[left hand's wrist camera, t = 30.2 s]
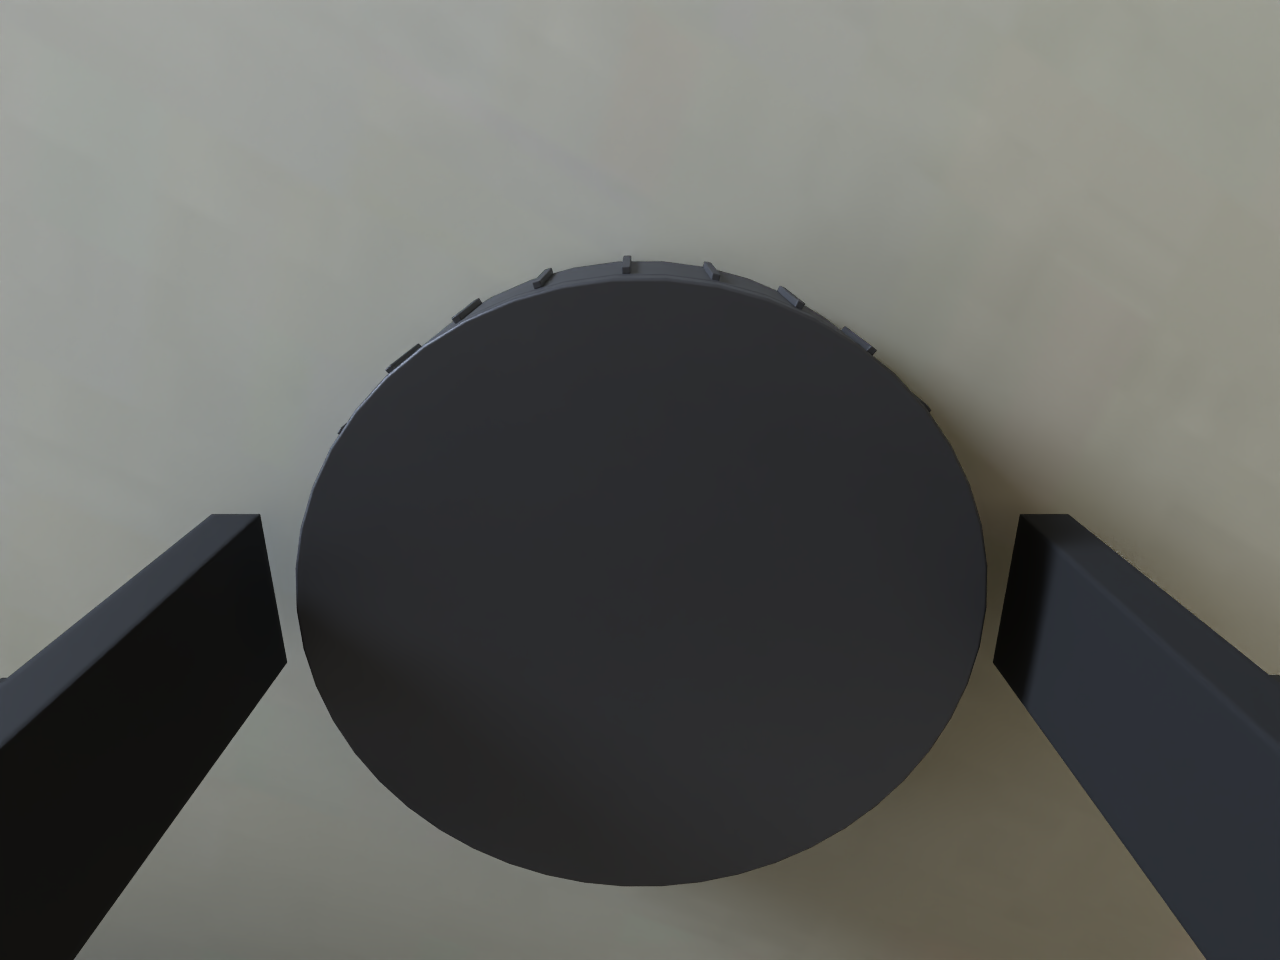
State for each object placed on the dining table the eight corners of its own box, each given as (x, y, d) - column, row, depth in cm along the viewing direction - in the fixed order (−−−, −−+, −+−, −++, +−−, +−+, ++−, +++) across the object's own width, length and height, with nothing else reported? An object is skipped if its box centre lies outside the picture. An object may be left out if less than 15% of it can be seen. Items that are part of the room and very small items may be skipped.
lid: (481, 855, 16) (459, 950, 14) (227, 383, 13) (152, 421, 11) (990, 718, 15) (1044, 800, 13) (862, 154, 11) (909, 151, 9)
